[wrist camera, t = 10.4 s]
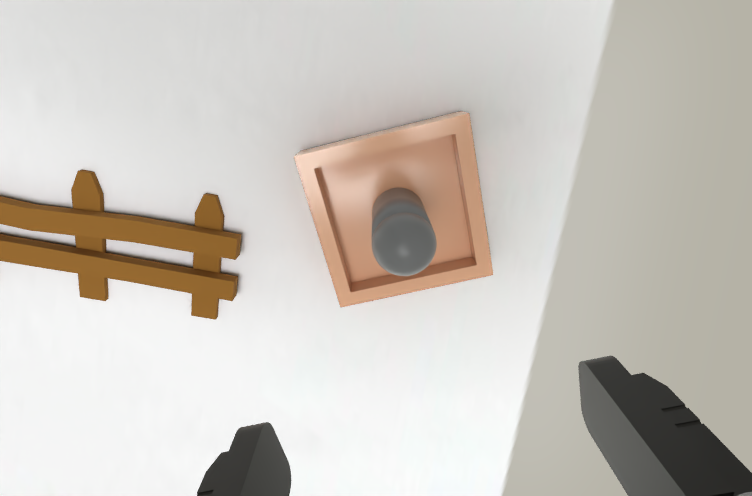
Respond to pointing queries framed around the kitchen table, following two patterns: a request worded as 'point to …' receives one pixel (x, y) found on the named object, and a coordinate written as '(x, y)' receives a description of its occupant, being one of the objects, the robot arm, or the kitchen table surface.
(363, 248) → the dish
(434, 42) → the kitchen table surface
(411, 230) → the plug
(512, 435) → the kitchen table surface
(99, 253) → the decorative fence
